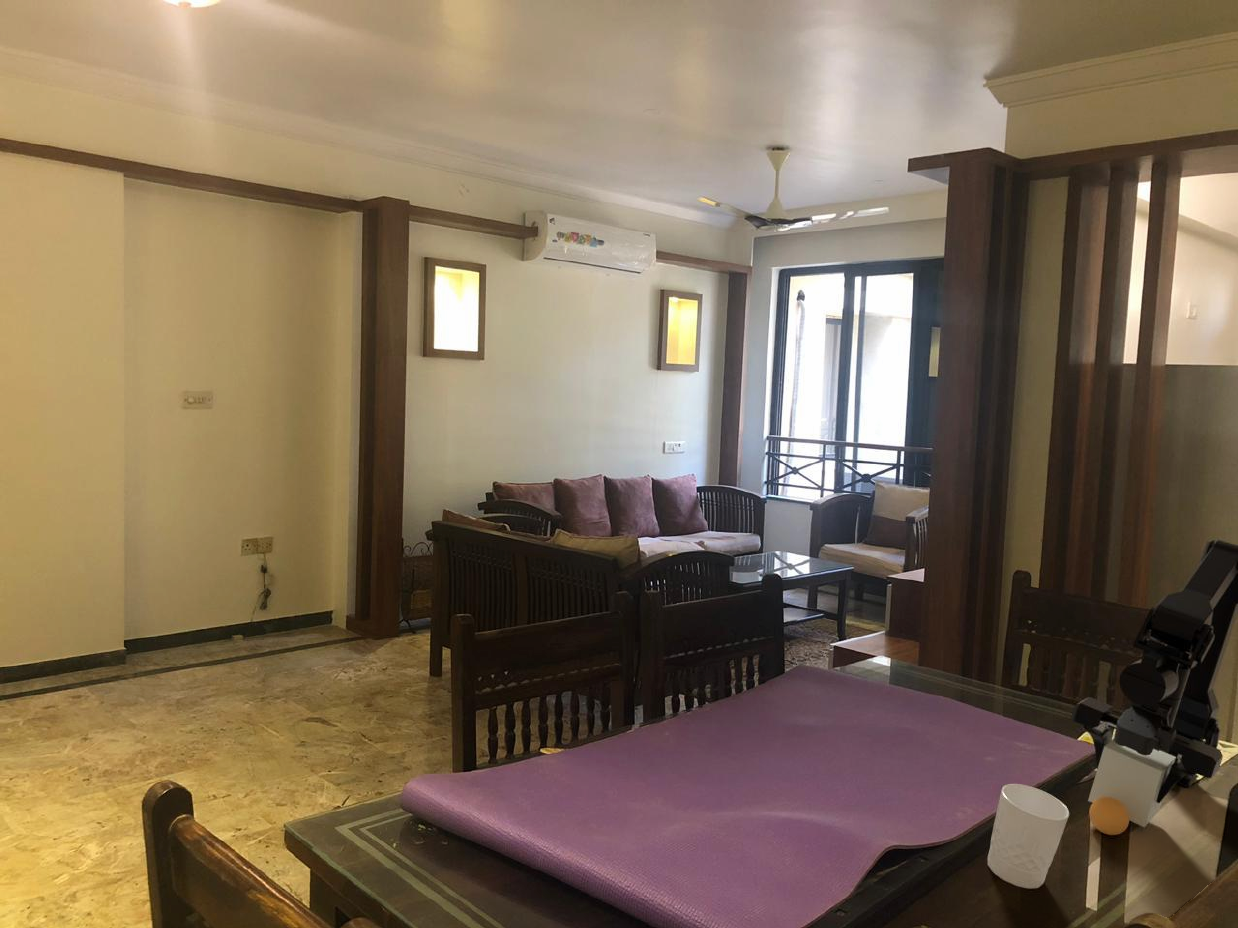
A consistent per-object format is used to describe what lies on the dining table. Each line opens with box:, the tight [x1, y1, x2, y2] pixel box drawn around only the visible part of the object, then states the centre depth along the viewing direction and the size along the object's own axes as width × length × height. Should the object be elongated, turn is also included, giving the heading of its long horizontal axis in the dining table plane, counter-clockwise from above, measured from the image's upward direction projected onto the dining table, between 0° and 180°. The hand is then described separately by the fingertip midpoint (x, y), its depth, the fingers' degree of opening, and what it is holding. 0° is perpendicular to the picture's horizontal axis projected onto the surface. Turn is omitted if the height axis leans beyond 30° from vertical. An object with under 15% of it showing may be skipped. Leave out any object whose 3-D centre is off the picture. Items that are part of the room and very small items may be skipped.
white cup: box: [987, 783, 1070, 889], centre depth 118 cm, size 8×8×10 cm
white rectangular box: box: [1087, 738, 1176, 828], centre depth 138 cm, size 8×8×9 cm
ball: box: [1088, 797, 1130, 836], centre depth 133 cm, size 5×5×5 cm
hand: (1128, 788), depth 138 cm, fingers closed on white rectangular box, 8 cm apart
